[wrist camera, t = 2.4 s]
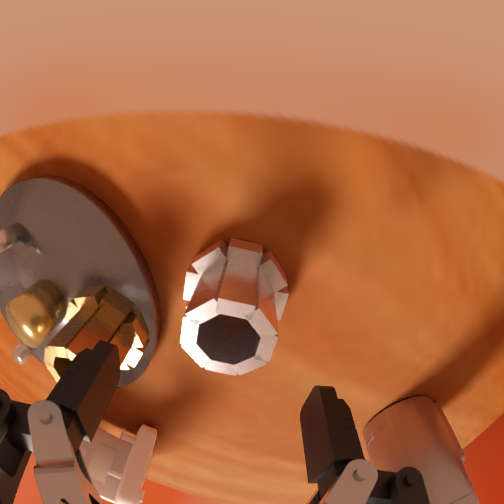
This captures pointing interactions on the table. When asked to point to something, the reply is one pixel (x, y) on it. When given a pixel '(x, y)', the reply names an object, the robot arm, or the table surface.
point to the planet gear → (233, 307)
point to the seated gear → (98, 329)
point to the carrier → (66, 263)
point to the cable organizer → (119, 463)
